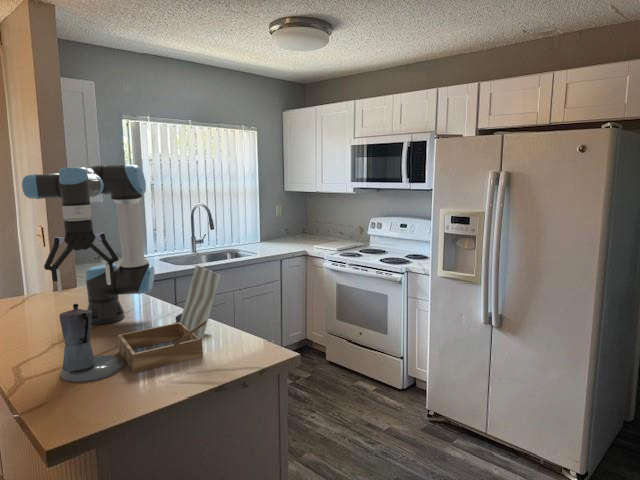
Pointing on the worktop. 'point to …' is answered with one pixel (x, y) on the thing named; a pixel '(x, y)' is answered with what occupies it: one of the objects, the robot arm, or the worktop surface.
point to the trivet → (95, 369)
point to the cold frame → (174, 329)
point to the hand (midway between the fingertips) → (85, 287)
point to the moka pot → (77, 339)
